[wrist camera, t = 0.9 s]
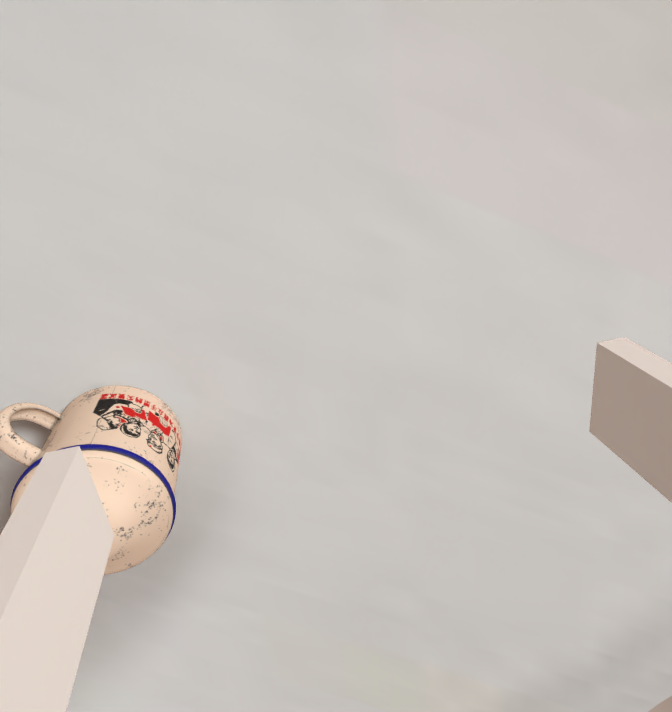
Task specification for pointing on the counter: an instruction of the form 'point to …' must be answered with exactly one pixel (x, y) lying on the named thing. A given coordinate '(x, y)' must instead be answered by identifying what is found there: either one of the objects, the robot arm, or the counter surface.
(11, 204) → the counter surface
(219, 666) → the counter surface
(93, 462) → the teacup with lid
